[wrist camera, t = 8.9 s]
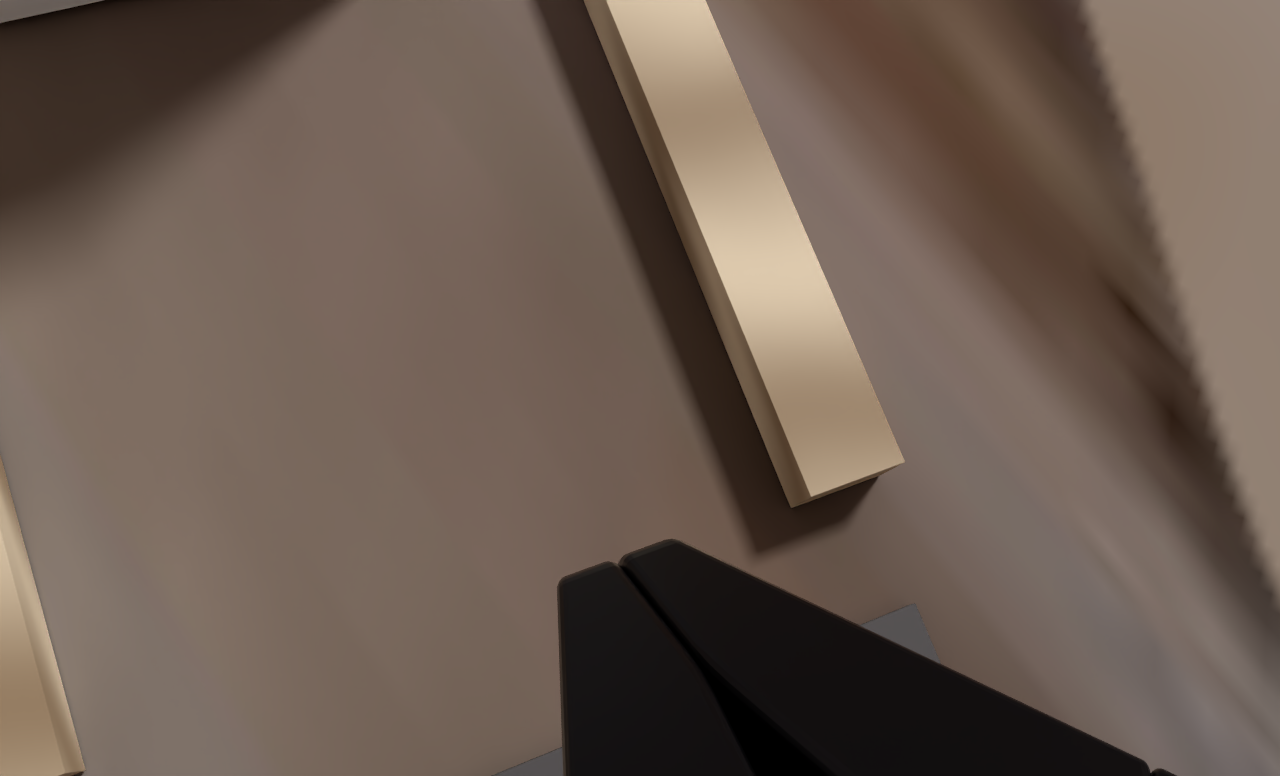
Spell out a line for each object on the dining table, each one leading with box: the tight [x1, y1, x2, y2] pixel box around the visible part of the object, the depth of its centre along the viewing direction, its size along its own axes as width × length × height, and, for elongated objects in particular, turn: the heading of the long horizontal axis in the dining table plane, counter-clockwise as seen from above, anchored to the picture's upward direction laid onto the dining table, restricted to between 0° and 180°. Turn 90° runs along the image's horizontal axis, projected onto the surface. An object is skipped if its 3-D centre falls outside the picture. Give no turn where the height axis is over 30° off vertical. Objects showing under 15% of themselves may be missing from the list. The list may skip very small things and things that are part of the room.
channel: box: [0, 0, 905, 776], centre depth 22 cm, size 14×17×1 cm
